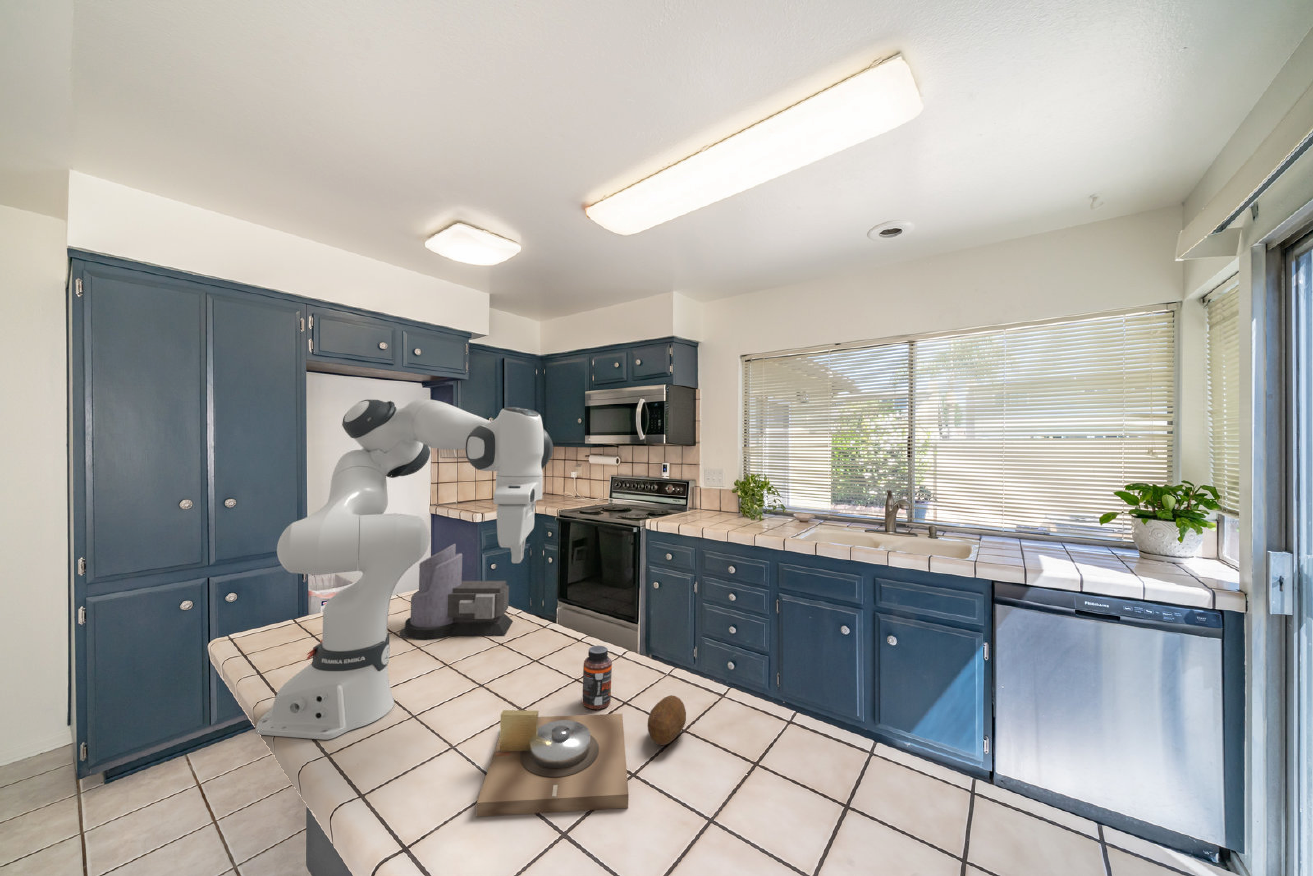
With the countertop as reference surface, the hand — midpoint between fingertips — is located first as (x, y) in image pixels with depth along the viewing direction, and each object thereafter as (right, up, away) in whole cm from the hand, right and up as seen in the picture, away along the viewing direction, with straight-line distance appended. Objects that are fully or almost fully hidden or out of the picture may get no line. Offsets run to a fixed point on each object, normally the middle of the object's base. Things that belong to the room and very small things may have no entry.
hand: (517, 561), depth 95 cm
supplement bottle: (+15, -32, +7) cm, 36 cm away
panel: (+11, -31, -12) cm, 35 cm away
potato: (+29, -32, -4) cm, 43 cm away
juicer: (-31, -31, +46) cm, 64 cm away
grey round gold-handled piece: (+8, -29, -12) cm, 32 cm away
